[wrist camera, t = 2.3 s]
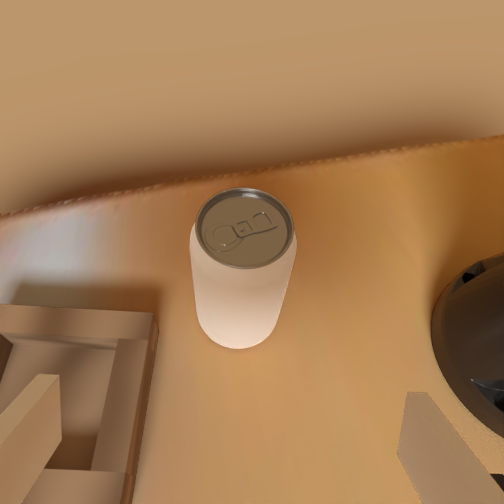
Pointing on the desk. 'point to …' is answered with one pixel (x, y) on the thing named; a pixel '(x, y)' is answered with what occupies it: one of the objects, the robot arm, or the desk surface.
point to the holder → (84, 394)
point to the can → (241, 264)
